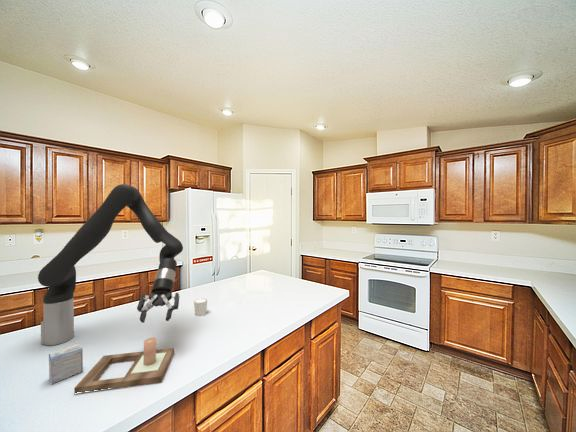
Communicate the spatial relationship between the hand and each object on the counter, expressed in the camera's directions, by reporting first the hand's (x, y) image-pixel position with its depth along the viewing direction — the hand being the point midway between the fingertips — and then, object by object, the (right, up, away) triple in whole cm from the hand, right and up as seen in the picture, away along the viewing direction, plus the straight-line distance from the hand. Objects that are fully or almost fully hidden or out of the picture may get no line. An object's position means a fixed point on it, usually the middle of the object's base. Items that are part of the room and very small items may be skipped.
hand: (154, 321), depth 89 cm
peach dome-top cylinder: (+1, -12, -6) cm, 13 cm away
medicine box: (-24, -14, -9) cm, 30 cm away
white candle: (+3, -13, +39) cm, 41 cm away
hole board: (-4, -14, -7) cm, 16 cm away
